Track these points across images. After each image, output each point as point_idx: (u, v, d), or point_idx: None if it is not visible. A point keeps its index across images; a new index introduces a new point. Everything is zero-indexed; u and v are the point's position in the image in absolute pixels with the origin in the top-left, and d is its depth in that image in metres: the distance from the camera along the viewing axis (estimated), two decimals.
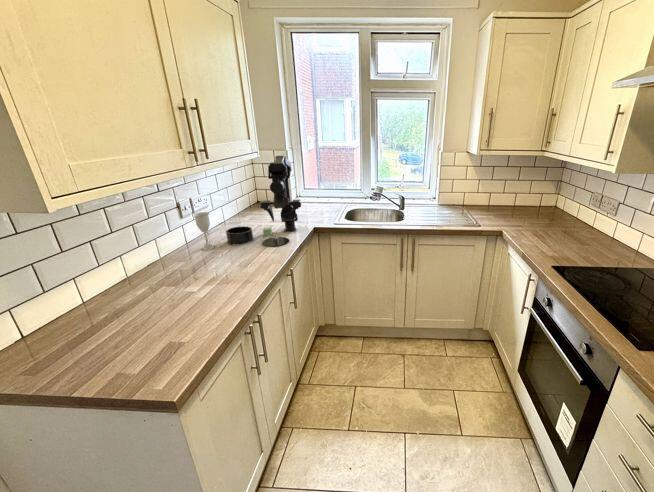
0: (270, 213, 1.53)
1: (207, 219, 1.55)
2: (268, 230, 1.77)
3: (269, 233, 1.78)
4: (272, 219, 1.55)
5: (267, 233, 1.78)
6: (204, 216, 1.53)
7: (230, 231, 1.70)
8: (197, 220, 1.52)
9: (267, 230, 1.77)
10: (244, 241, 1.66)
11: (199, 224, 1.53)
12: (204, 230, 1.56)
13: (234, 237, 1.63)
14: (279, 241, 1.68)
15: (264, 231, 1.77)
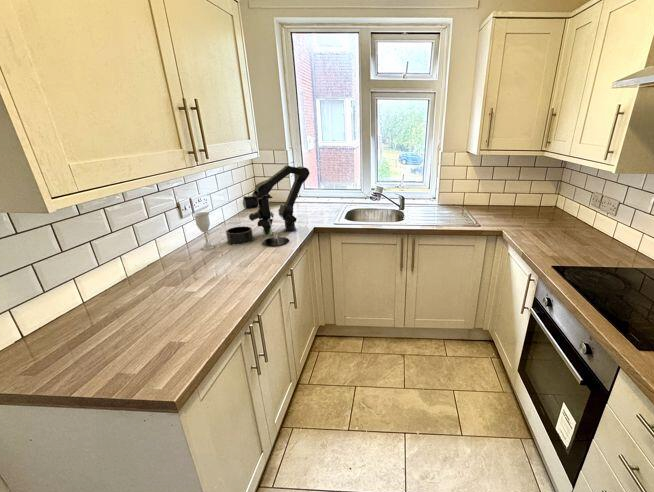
0: None
1: (207, 219, 1.55)
2: None
3: (269, 233, 1.78)
4: None
5: None
6: (204, 216, 1.53)
7: (230, 231, 1.70)
8: (197, 220, 1.52)
9: None
10: (244, 241, 1.66)
11: (199, 224, 1.53)
12: (204, 230, 1.56)
13: (234, 237, 1.63)
14: (279, 241, 1.68)
15: (264, 231, 1.77)
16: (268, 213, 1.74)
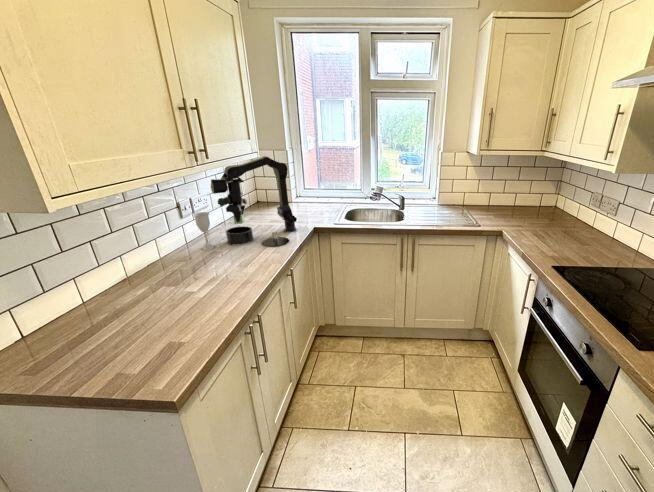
0: None
1: (207, 219, 1.55)
2: None
3: (240, 220, 1.65)
4: None
5: None
6: (204, 216, 1.53)
7: (230, 231, 1.70)
8: (197, 220, 1.52)
9: None
10: (244, 241, 1.66)
11: (199, 224, 1.53)
12: (204, 230, 1.56)
13: (234, 237, 1.63)
14: (279, 241, 1.68)
15: (235, 218, 1.64)
16: (239, 198, 1.61)
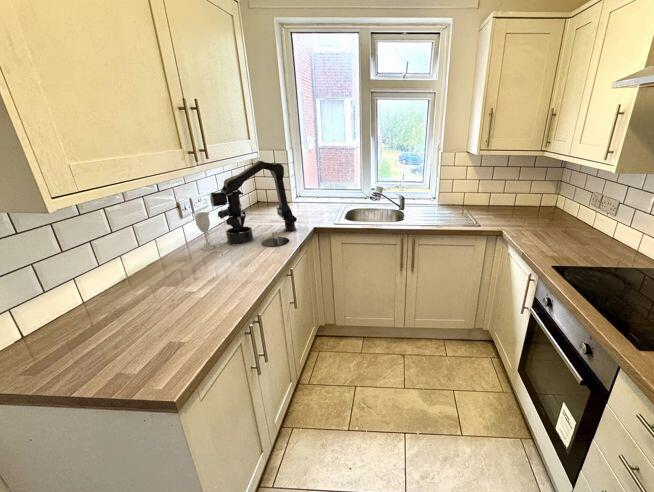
0: None
1: (207, 219, 1.55)
2: None
3: None
4: None
5: None
6: (204, 216, 1.53)
7: (230, 231, 1.70)
8: (197, 220, 1.52)
9: None
10: (244, 241, 1.66)
11: (199, 224, 1.53)
12: (204, 230, 1.56)
13: (234, 237, 1.63)
14: (279, 241, 1.68)
15: None
16: (238, 210, 1.63)
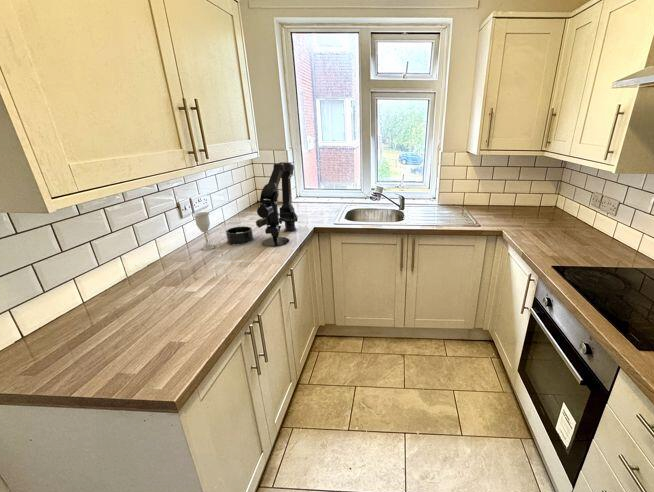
0: None
1: (207, 219, 1.55)
2: None
3: None
4: None
5: None
6: (204, 216, 1.53)
7: (230, 231, 1.70)
8: (197, 220, 1.52)
9: None
10: (244, 241, 1.66)
11: (199, 224, 1.53)
12: (204, 230, 1.56)
13: (234, 237, 1.63)
14: (279, 241, 1.68)
15: None
16: (276, 219, 1.62)
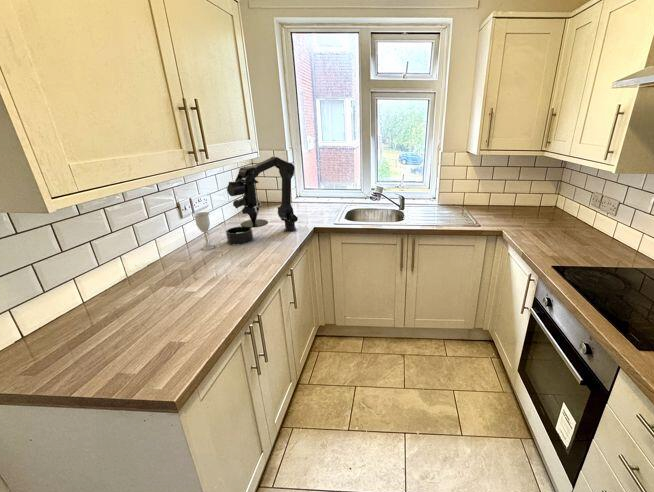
0: None
1: (207, 219, 1.55)
2: None
3: None
4: None
5: None
6: (204, 216, 1.53)
7: (230, 231, 1.70)
8: (197, 220, 1.52)
9: None
10: (244, 241, 1.66)
11: (199, 224, 1.53)
12: (204, 230, 1.56)
13: (234, 237, 1.63)
14: (258, 223, 1.65)
15: None
16: (254, 200, 1.59)
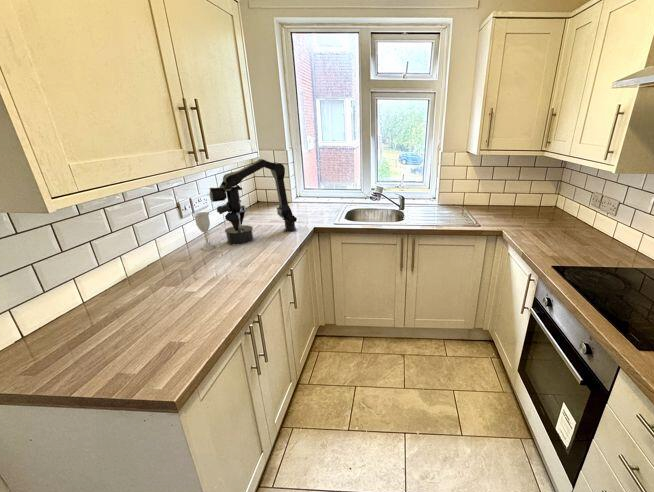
0: None
1: (207, 219, 1.55)
2: None
3: None
4: None
5: None
6: (204, 216, 1.53)
7: None
8: (197, 220, 1.52)
9: None
10: (244, 241, 1.66)
11: (199, 224, 1.53)
12: (204, 230, 1.56)
13: (234, 237, 1.63)
14: (242, 229, 1.68)
15: None
16: (238, 206, 1.62)
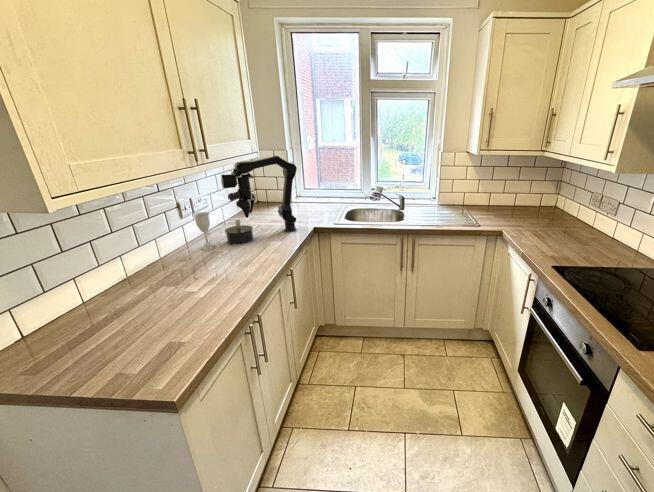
0: None
1: (207, 219, 1.55)
2: None
3: None
4: None
5: None
6: (204, 216, 1.53)
7: None
8: (197, 220, 1.52)
9: None
10: (244, 241, 1.66)
11: (199, 224, 1.53)
12: (204, 230, 1.56)
13: (234, 237, 1.63)
14: (242, 229, 1.68)
15: None
16: (248, 193, 1.65)
